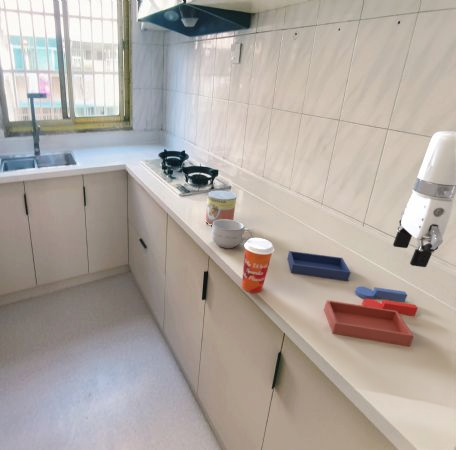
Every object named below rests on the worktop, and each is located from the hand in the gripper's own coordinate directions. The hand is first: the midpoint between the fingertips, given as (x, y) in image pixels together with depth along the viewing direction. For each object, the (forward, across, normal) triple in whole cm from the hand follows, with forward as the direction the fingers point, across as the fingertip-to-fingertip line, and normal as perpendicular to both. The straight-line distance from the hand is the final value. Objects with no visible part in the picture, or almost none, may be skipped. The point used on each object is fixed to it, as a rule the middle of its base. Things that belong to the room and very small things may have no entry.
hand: (408, 255), depth 82 cm
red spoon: (+16, -1, +1) cm, 16 cm away
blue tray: (+16, +16, +15) cm, 27 cm away
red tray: (+16, -10, +9) cm, 20 cm away
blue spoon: (+16, +5, +1) cm, 17 cm away
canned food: (+16, +45, +47) cm, 67 cm away
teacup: (+16, +25, +42) cm, 51 cm away
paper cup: (+16, 0, +35) cm, 38 cm away
